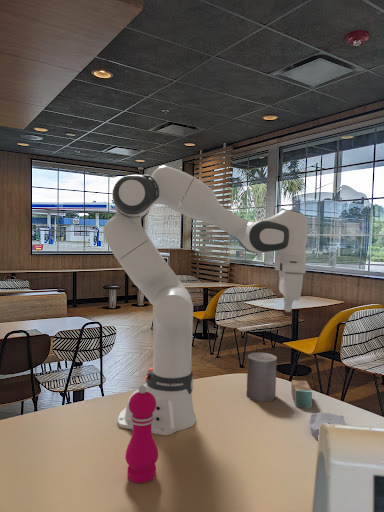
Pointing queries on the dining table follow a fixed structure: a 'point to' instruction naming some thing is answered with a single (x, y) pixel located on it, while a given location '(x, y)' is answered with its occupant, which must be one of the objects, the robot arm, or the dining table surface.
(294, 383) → the walnut block
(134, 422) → the pepper mill
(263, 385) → the pillar candle
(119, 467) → the dining table surface
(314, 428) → the stone block
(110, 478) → the dining table surface
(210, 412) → the dining table surface
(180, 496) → the dining table surface
